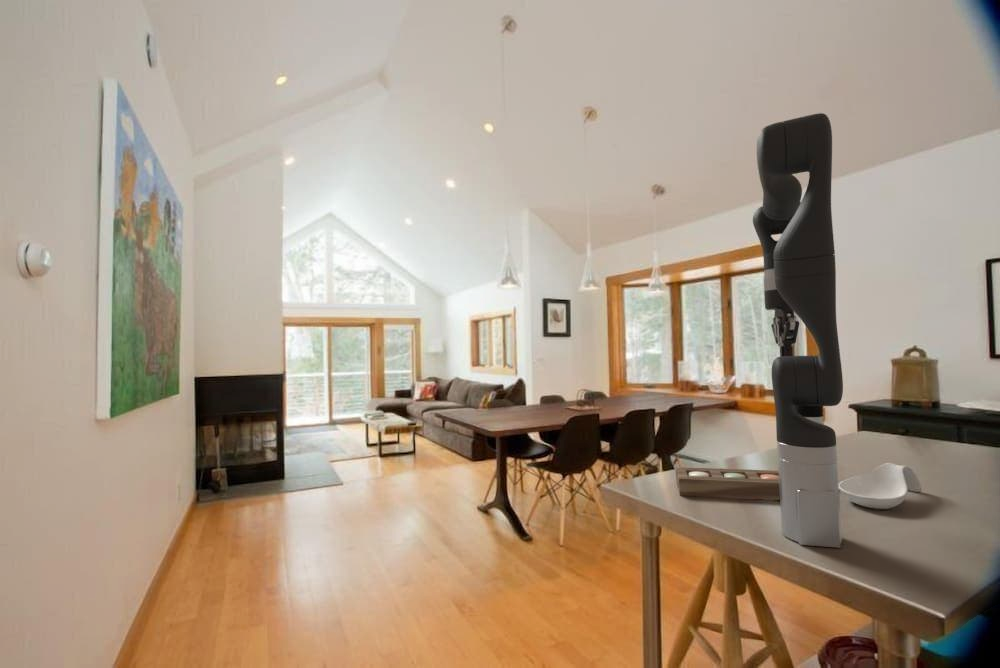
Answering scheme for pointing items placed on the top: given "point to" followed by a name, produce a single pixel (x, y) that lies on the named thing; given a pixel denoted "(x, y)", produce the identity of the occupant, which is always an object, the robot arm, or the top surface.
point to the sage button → (733, 475)
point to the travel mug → (811, 413)
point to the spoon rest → (881, 486)
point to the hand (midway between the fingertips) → (786, 362)
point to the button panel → (727, 484)
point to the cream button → (699, 474)
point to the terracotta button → (770, 476)
